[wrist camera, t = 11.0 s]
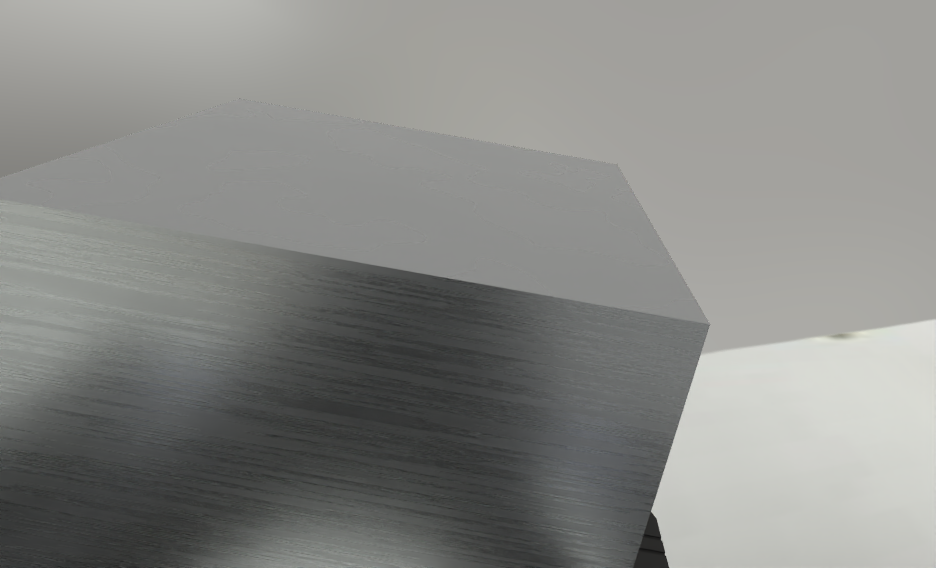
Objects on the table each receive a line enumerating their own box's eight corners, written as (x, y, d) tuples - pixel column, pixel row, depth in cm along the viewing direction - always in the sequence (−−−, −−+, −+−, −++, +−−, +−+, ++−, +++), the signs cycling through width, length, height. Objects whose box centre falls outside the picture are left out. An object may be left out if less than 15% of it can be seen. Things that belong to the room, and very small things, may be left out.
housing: (47, 1011, 13) (-43, 191, 8) (217, 653, 21) (239, 98, 15) (468, 1091, 13) (710, 324, 7) (487, 703, 21) (617, 164, 15)
